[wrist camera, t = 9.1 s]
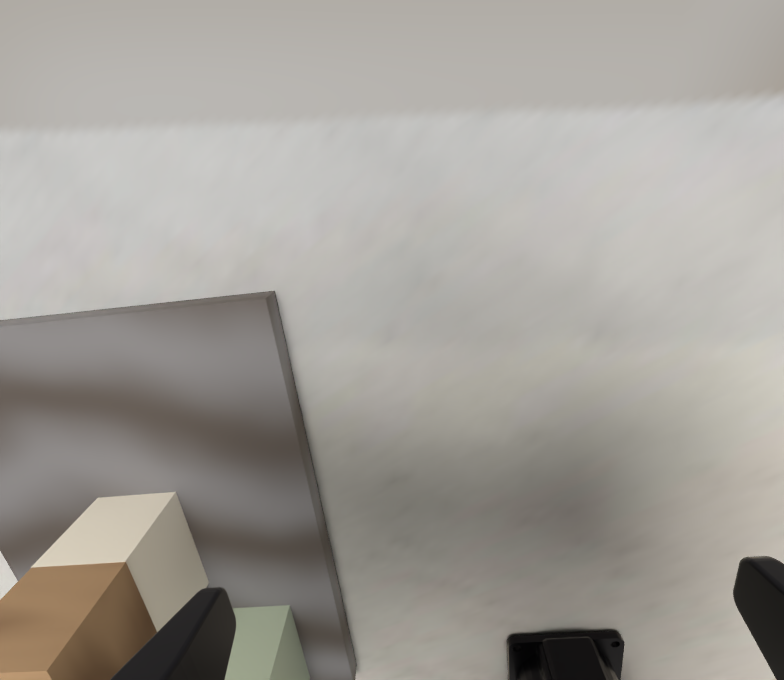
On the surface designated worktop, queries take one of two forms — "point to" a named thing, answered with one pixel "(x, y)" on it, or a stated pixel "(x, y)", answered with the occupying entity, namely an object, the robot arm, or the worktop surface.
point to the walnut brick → (72, 623)
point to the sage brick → (266, 646)
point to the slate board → (174, 447)
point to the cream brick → (137, 548)
